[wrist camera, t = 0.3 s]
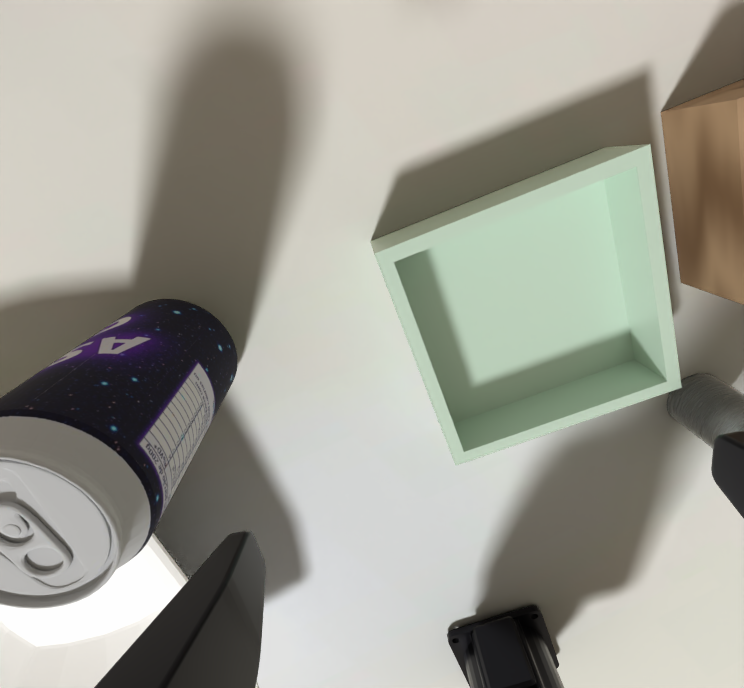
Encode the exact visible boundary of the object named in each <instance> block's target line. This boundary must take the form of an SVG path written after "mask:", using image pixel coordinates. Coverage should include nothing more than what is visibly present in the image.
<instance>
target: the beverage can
mask: <svg viewBox="0 0 744 688" xmlns="http://www.w3.org/2000/svg"><path fill="white" fill-rule="evenodd" d="M236 371H237V353H236V348H235V345H234V343H233V340H232V338H231V336H230V334H229V333H228V331H227V330H226V328H225V327H224V326H223V325H222V323H221V322H220V321H219V320H218V319H217V318H215V317H214V316H213V315H212V314H210V313H209V312H208V311H206V310H204V309H203V308H201V307H199V306H196V305H194V304H191V303H189V302H185V301H181V300H174V299H160V300H153V301H149V302H146V303H144V304H141V305H139V306H137V307H136V308H134V309H133V310H131V311H130V312H128V313H127V314H125V315H124V316H122V317H121V318H119V319H118V320H116V321H115V322H113V323H112V324H110V325H109V326H107V327H106V328H104V329H103V330H101V331H100V332H98V333H97V334H95V335H94V336H92V337H91V338H89V339H88V340H86V341H85V342H83V343H82V344H80V345H79V346H77V347H76V348H74V349H73V350H71V351H70V352H69V353H67V354H66V355H64V356H63V357H61V358H60V359H58V360H57V361H55V362H54V363H52V364H51V365H49V366H48V367H46V368H45V369H43V370H42V371H40V372H39V373H37V374H36V375H34V376H33V377H31V378H30V379H28V380H27V381H25V382H24V383H22V384H21V385H19V386H18V387H16V388H15V389H13V390H12V391H10V392H9V393H7V394H6V395H5V396H3V397H2V398H0V605H4V606H10V607H16V608H29V609H40V608H52V607H59V606H64V605H68V604H71V603H75V602H78V601H80V600H82V599H84V598H86V597H89V596H90V595H92V594H93V593H95V592H96V591H98V590H99V589H100V588H101V587H102V586H104V585H105V584H106V583H107V582H108V580H109V579H110V578H111V577H112V575H113V574H114V572H115V570H117V569H118V568H120V567H121V566H123V565H124V564H126V563H127V562H129V561H130V560H131V559H133V558H134V557H135V556H136V555H137V554H138V553H139V552H140V551H141V550H142V549H143V548H144V547H145V545H146V544H147V543H148V541H149V539H150V537H151V535H152V534H153V532H154V530H155V528H156V526H157V524H158V522H159V520H160V518H161V517H162V515H163V513H164V511H165V509H166V507H167V505H168V503H169V501H170V500H171V498H172V496H173V494H174V492H175V490H176V488H177V486H178V484H179V483H180V481H181V479H182V477H183V475H184V473H185V471H186V469H187V467H188V466H189V464H190V462H191V460H192V458H193V456H194V454H195V452H196V450H197V449H198V447H199V445H200V443H201V441H202V439H203V437H204V435H205V433H206V432H207V430H208V428H209V426H210V424H211V422H212V420H213V418H214V416H215V414H216V413H217V411H218V409H219V407H220V405H221V403H222V401H223V399H224V397H225V396H226V394H227V392H228V390H229V388H230V386H231V384H232V382H233V380H234V378H235V375H236Z"/></svg>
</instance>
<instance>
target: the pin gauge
mask: <svg viewBox="0 0 744 688" xmlns="http://www.w3.org/2000/svg"><path fill="white" fill-rule="evenodd" d="M681 386H682V388H679V389H677V390H674V391H671V393H670V395H669V397H668V401H667V408H668V411H669V413H670V415H671V416H672V417H673V418H674V419H676V420H677V421H678V422H679V423H681V424H682V425H683V426H685V427H686V428H687V429H688V430H690V431H691V432H692V433H694V434H695V435H696V436H697V437H699V438H700V439H701V440H703V441H704V442H705V443H706V444H708V445H709V446H710V447H712V448H713V445H714V440H715V438H716V437H717V436H718V435H721V434H725V433H730V432H735V431H743V432H744V394H743V393H742V392H740V391H738V390H736V389H735V388H733V387H731V386H730V385H728V384H726V383H724V382H723V381H721V380H719V379H717V378H716V377H714V376H712V375H709V374H695V375H692V376H689V377H687V378H685V379H684V380H682V381H681Z"/></svg>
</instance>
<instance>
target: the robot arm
mask: <svg viewBox="0 0 744 688" xmlns="http://www.w3.org/2000/svg"><path fill="white" fill-rule="evenodd" d="M711 470H712V476H713V478H714V480H715V482H716V484H717V485H718V486H719V488H720V489H721V490H722V491H723V493H724V494H725V495H726V497H727V498H728V499H729V500H730V502H731V503H732V504H733V505H734V507H735V508H736V509H737V511H738V512H739V513H740V514H741V516H742V517H743V518H744V432H743V431H735V432H730V433H725V434H721V435H718V436H717V437H716V438H715V440H714V445H713V457H712V468H711ZM265 576H266V569H265V562H264V559H263V556H262V554H261V551H260V549H259V546H258V544H257V541H256V539H255V536H254V534H253V533H252V532H251V531H248V530H246V531H241V532H236V533H232V534H230V535H229V536H227V537H226V539H225V540H224V541H223V542H222V543H221V544H220V545H219V546H218V548H217V549H216V550H215V551H214V552H213V553H212V554H211V556H210V557H209V558H208V559H207V560H206V561H205V562H204V563H203V565H202V566H201V567H200V568H199V569H198V570H197V571H196V573H195V574H194V575H193V576H192V577H191V578H190V579H189V580H188V582H187V583H186V584H185V585H184V586H183V587H182V588H181V590H180V591H179V592H178V593H177V594H176V595H175V596H174V597H173V599H172V600H171V601H170V602H169V603H168V604H167V605H166V607H165V608H164V609H163V610H162V611H161V612H160V613H159V614H158V616H157V617H156V618H155V619H154V620H153V621H152V622H151V624H150V625H149V626H148V627H147V628H146V629H145V630H144V631H143V633H142V634H141V635H140V636H139V637H138V638H137V639H136V641H135V642H134V643H133V644H132V645H131V646H130V647H129V648H128V650H127V651H126V652H125V653H124V654H123V655H122V656H121V658H120V659H119V660H118V661H117V662H116V663H115V664H114V665H113V667H112V668H111V669H110V670H109V671H108V672H107V673H106V675H105V676H104V677H103V678H102V679H101V680H100V681H99V682H98V684H97V685H96V686H95V687H94V688H255V687H256V681H257V675H258V668H259V661H260V652H261V639H262V624H263V608H264V592H265ZM447 637H448V642H449V645H450V647H451V649H452V651H453V653H454V655H455V657H456V659H457V661H458V663H459V665H460V667H461V669H462V671H463V674H464V676H465V678H466V680H467V682H468V684H469V686H470V688H564V686H563V684H562V681H561V679H560V677H559V674H558V672H557V668H558V667H559V663H558V660H557V657H556V654H555V651H554V648H553V645H552V642H551V639H550V637H549V634H548V631H547V628H546V625H545V622H544V619H543V616H542V614H541V611H540V609H539V607H537V606H529V607H526V608H523V609H519V610H516V611H513V612H510V613H506V614H503V615H500V616H497V617H494V618H490V619H487V620H484V621H481V622H477V623H474V624H471V625H468V626H464V627H461V628H458V629H455V630H452V631H450V632H449V633H448V634H447Z"/></svg>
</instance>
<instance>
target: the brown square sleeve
mask: <svg viewBox="0 0 744 688" xmlns="http://www.w3.org/2000/svg"><path fill="white" fill-rule="evenodd" d="M661 117H662V126H663V134H664V143H665V151H666V160H667V168H668V177H669V185H670V194H671V202H672V211H673V219H674V228H675V236H676V245H677V253H678V262H679V270H680V279H681V283H683V284H686V285H689V286H692V287H695V288H698V289H700V290H703V291H706V292H709V293H712V294H715V295H717V296H720V297H723V298H726V299H729V300H732V301H734V302H737V303H740V304H743V305H744V79H742V80H740V81H737V82H735V83H732V84H730V85H727V86H725V87H722V88H720V89H717V90H715V91H712V92H710V93H707V94H705V95H702V96H700V97H698V98H695V99H693V100H690V101H688V102H685V103H683V104H680V105H678V106H675V107H673V108H670V109H668V110H665V111H663V112H661Z"/></svg>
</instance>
